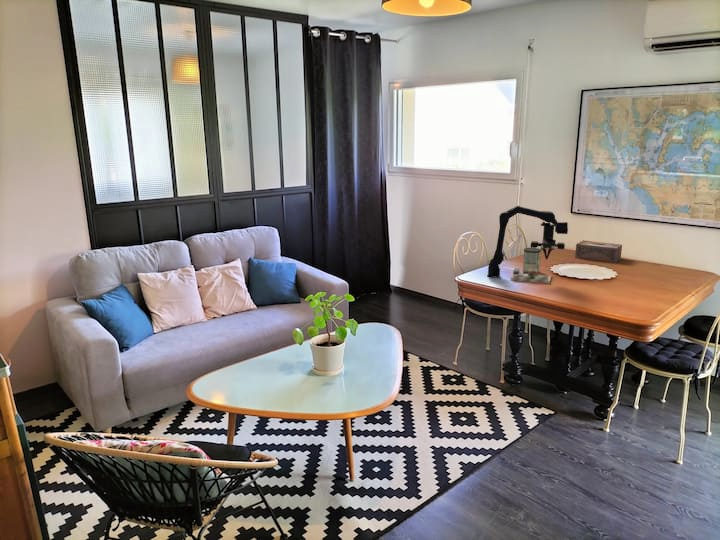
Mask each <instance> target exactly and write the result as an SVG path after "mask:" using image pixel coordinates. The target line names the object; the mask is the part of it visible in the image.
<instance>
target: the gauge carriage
mask: <svg viewBox="0 0 720 540" xmlns="http://www.w3.org/2000/svg"><path fill="white" fill-rule="evenodd" d="M537 272H538V269H535V268H529V270H528V271H523V270H522V273H523V274H528V276H532V277H533V276H537V275H538V273H539V272H538V273H537ZM531 279H532V278H531Z"/></svg>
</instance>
